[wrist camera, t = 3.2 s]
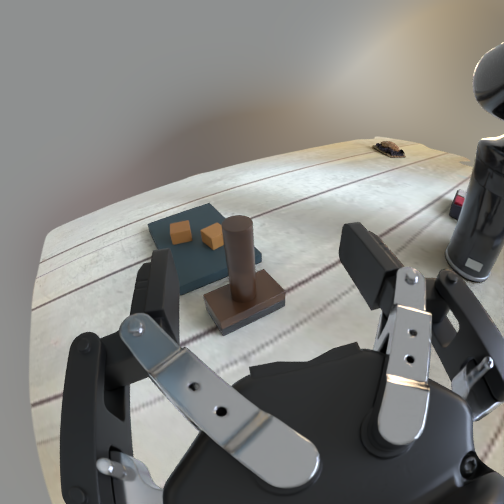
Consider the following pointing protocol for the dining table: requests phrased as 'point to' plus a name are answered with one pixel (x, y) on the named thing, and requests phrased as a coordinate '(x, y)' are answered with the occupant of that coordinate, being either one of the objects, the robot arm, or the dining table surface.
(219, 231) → the brown wooden block
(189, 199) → the dining table surface
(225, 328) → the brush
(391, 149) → the brown domed lump
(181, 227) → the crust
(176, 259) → the tray
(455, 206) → the red-topped box
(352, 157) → the dining table surface
